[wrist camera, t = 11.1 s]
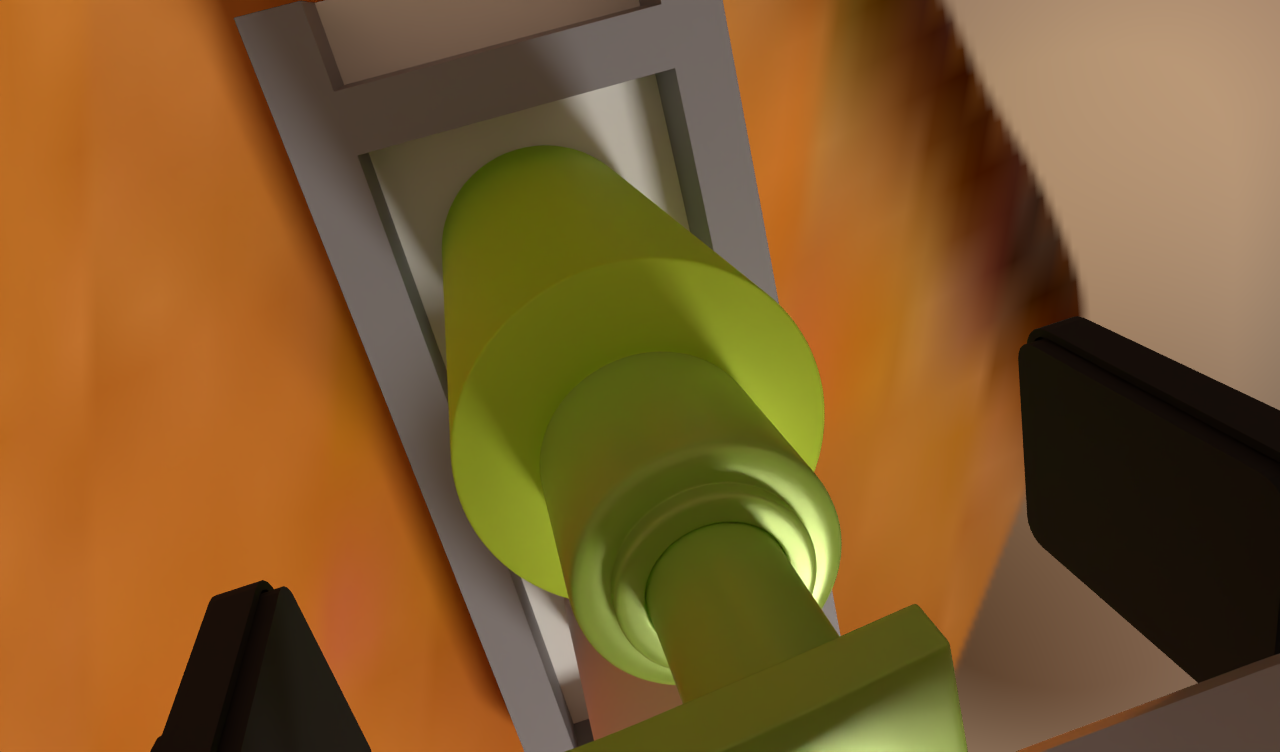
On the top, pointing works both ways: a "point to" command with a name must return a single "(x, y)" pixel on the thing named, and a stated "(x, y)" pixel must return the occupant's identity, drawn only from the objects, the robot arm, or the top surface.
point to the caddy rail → (419, 204)
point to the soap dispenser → (665, 469)
